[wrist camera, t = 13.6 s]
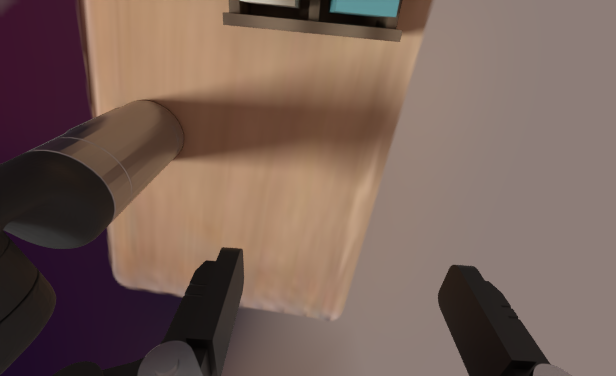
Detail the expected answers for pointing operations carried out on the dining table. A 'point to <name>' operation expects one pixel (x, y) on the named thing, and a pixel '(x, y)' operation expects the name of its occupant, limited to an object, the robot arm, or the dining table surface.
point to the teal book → (364, 7)
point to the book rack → (309, 19)
